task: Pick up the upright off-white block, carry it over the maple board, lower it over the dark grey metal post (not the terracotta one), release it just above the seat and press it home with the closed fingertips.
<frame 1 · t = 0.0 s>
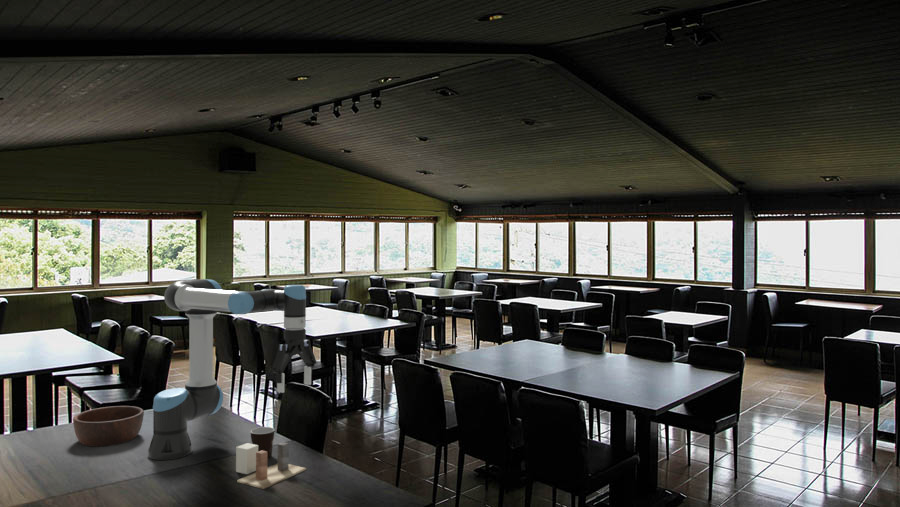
hand: (294, 388, 223), 28 cm above the table, fingers open, 13 cm apart
upright off-white block: (247, 470, 219), on the table
coffee mug: (264, 456, 235), on the table
stand: (272, 475, 215), on the table
wooden bowl: (109, 439, 253), on the table
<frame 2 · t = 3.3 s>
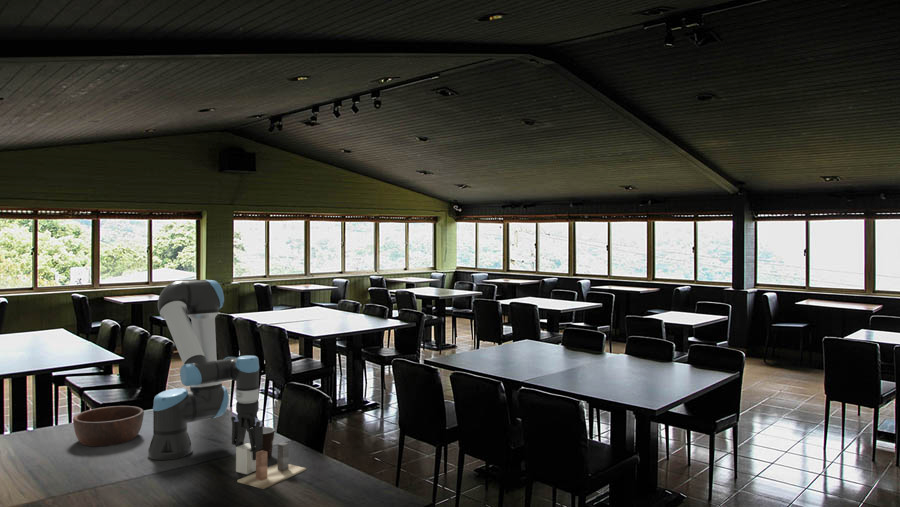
hand: (247, 467, 219), 1 cm above the table, fingers closed on upright off-white block, 5 cm apart
upright off-white block: (247, 470, 219), on the table, touching gripper
everything else where it was.
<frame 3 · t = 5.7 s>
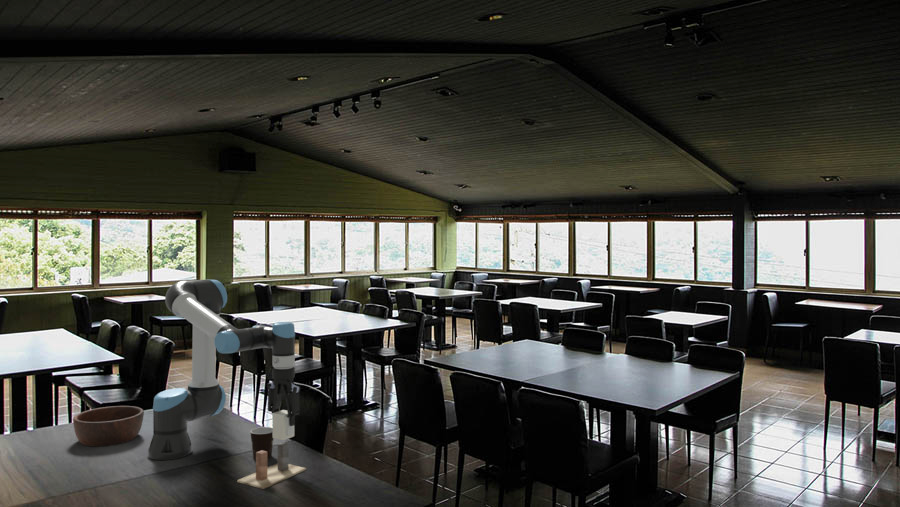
hand: (283, 433, 219), 13 cm above the table, fingers closed on upright off-white block, 5 cm apart
upright off-white block: (283, 437, 219), point 12 cm above the table, touching gripper
everything else where it was.
when the fingers open (4 cm above the table, at t = 8.1 s): upright off-white block stays where it is, resting on stand.
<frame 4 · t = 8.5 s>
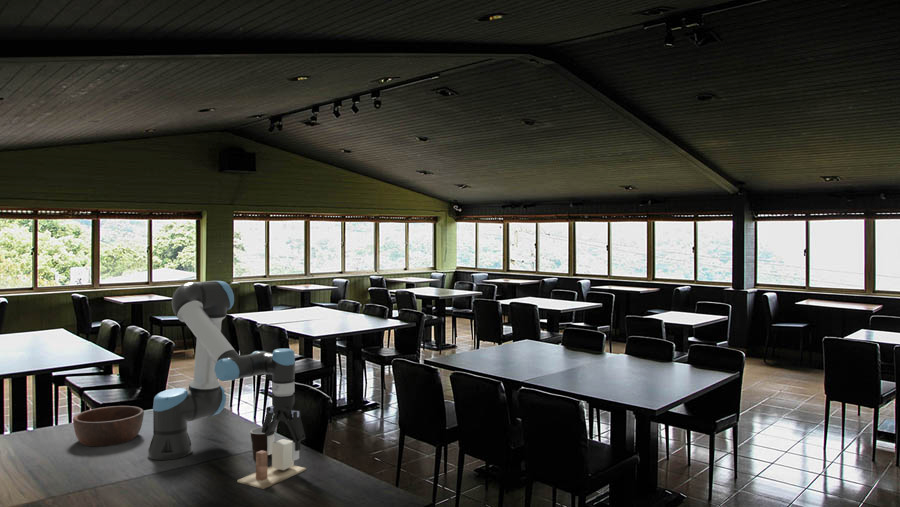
hand: (283, 456, 219), 5 cm above the table, fingers open, 11 cm apart
upright off-white block: (282, 466, 219), point 2 cm above the table, touching stand
everything else where it was.
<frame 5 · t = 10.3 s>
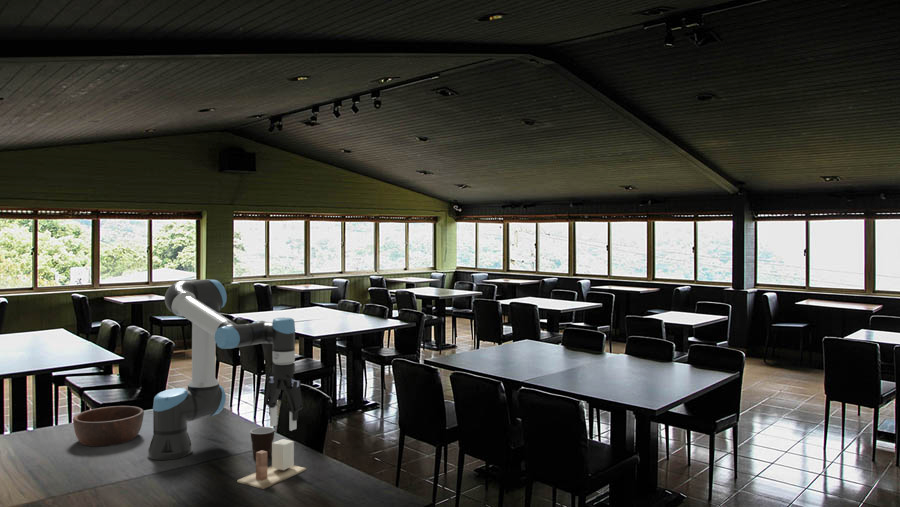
hand: (283, 427, 219), 15 cm above the table, fingers open, 8 cm apart
nothing on the table moved.
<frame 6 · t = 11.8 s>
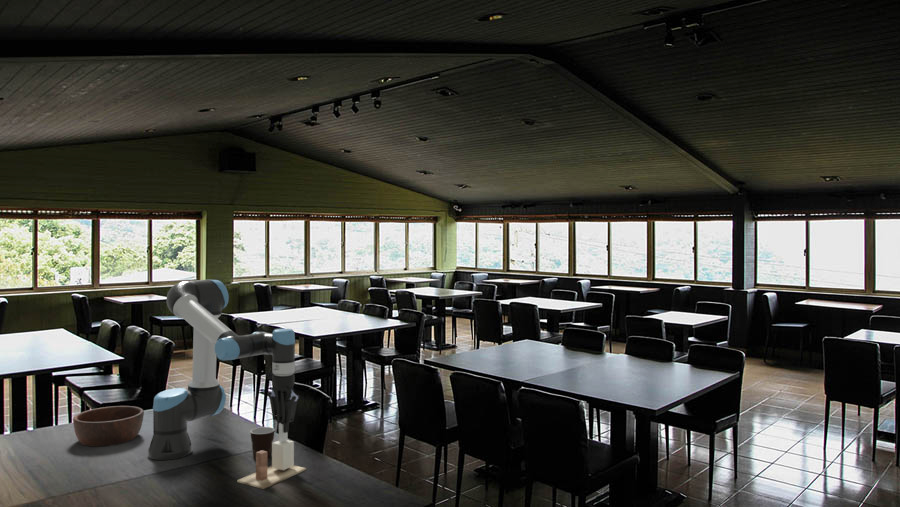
hand: (283, 441, 219), 11 cm above the table, fingers closed
nothing on the table moved.
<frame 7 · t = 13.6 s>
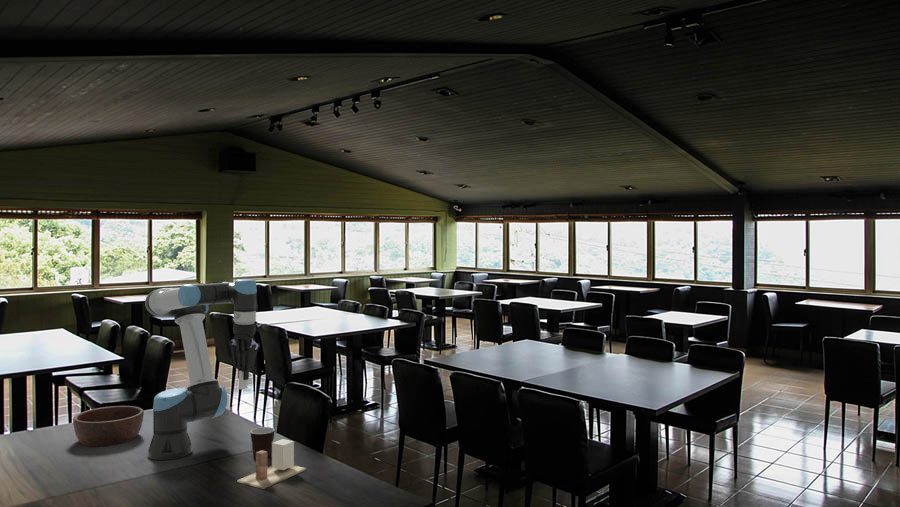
hand: (243, 388, 224), 28 cm above the table, fingers closed
nothing on the table moved.
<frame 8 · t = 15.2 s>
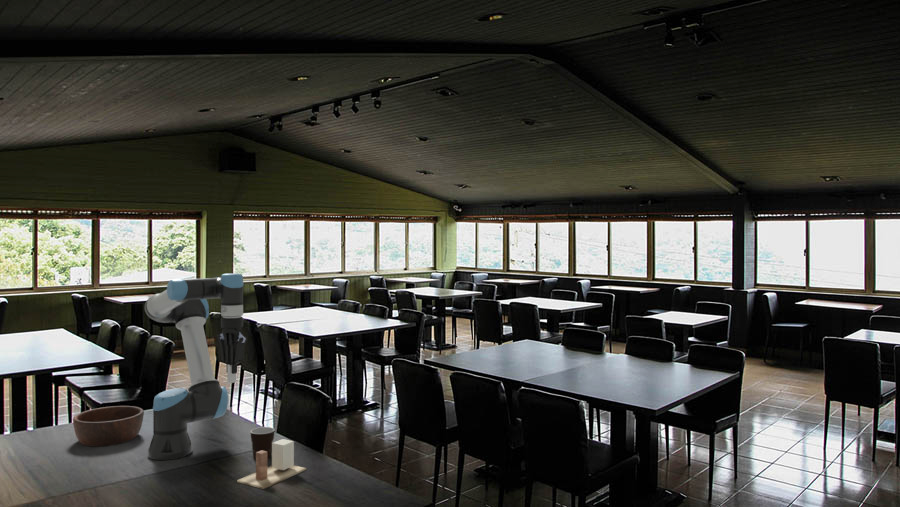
hand: (231, 382, 225), 29 cm above the table, fingers closed
nothing on the table moved.
at the end: upright off-white block 0.0 cm from the target spot on the stand, point 1.6 cm above the stand's base; upright off-white block tilted 0°; the gripper is holding nothing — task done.
